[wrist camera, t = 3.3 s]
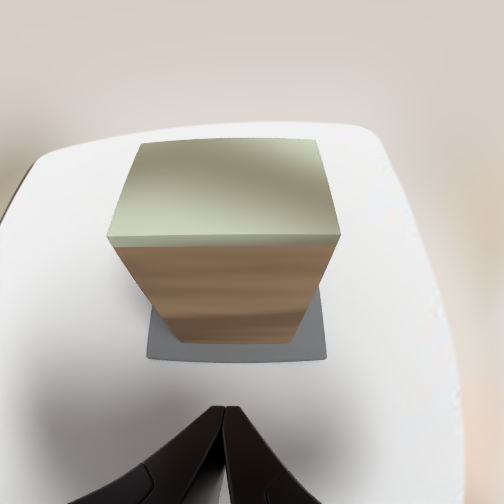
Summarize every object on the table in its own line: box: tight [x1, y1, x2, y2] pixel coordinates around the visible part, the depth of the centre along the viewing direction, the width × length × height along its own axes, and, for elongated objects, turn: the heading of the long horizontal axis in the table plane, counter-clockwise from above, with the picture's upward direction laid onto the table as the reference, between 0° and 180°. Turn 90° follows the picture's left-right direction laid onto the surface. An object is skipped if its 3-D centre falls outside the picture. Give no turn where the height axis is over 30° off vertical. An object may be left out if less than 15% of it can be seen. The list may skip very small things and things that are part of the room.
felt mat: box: [147, 285, 327, 363], centre depth 19 cm, size 15×10×1 cm, turn 1°
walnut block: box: [106, 138, 341, 344], centre depth 12 cm, size 4×6×10 cm, turn 91°
